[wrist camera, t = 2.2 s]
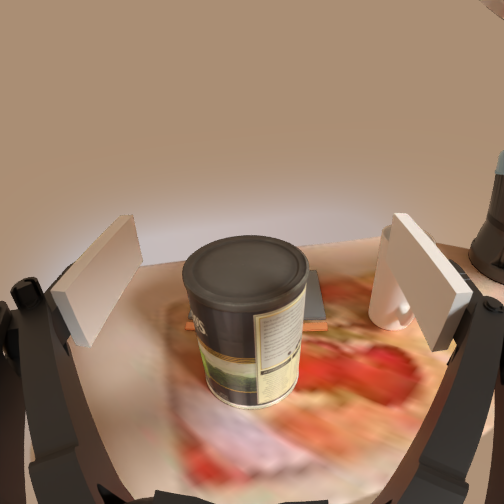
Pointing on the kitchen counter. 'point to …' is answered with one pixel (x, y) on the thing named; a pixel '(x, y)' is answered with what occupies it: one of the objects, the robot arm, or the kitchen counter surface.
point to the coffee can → (248, 316)
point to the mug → (388, 293)
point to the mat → (309, 299)
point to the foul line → (305, 328)
